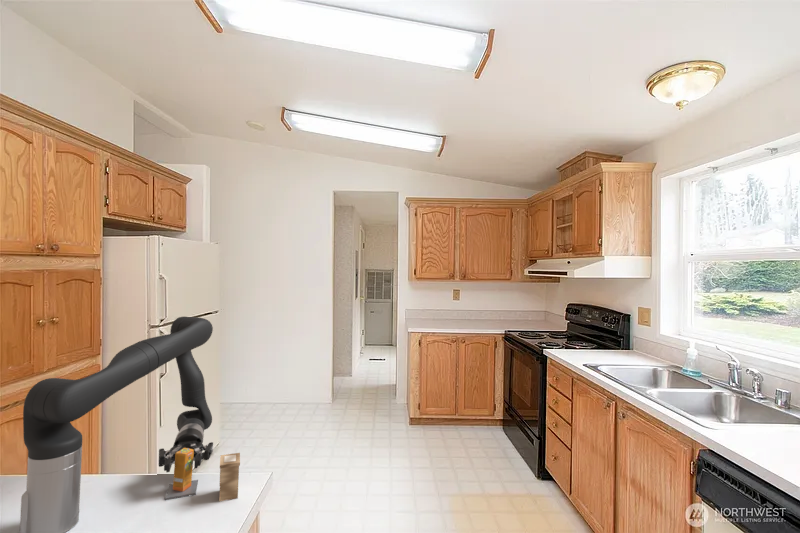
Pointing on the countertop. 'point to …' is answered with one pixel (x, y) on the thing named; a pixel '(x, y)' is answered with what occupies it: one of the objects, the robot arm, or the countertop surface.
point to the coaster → (177, 494)
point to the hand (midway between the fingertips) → (182, 466)
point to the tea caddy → (229, 476)
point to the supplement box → (183, 469)
